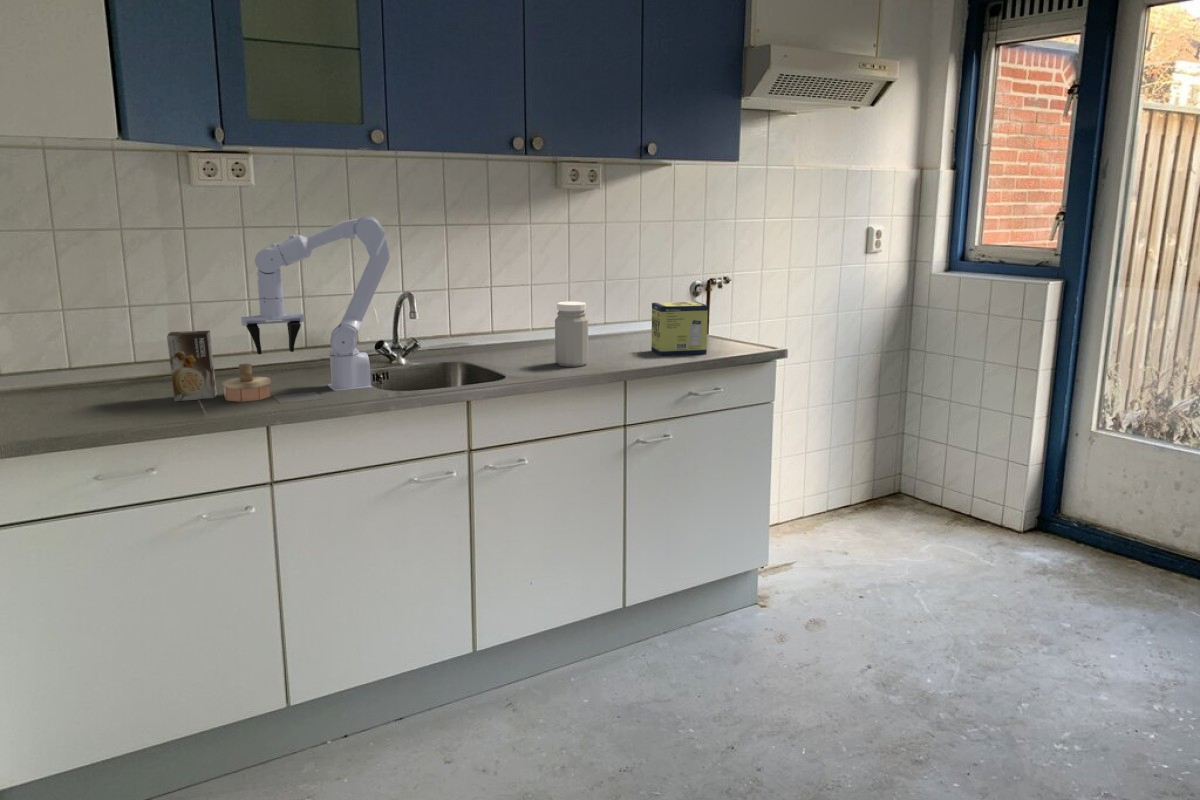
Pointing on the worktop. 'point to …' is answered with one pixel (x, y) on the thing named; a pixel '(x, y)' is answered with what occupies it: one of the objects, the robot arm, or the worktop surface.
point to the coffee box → (191, 365)
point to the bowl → (247, 394)
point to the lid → (246, 379)
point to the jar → (571, 334)
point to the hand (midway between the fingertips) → (275, 352)
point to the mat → (297, 397)
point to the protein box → (679, 328)
